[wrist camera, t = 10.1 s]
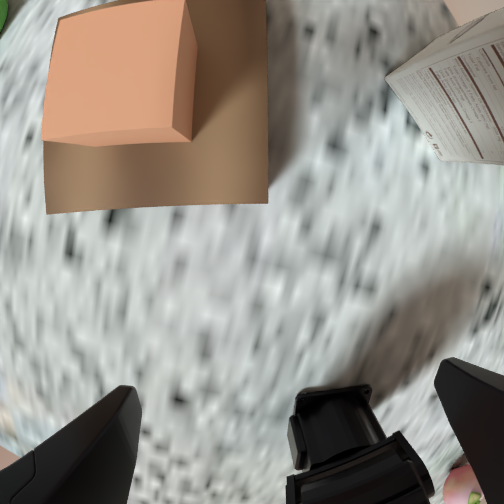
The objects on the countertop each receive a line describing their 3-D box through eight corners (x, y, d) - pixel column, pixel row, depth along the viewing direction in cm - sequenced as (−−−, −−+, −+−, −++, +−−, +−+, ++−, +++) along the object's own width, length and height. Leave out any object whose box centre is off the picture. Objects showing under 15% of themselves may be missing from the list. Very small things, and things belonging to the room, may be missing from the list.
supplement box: (434, 37, 15) (551, -13, 3) (484, 115, 17) (608, 112, 5) (378, 77, 16) (521, 12, 4) (438, 165, 18) (589, 183, 6)
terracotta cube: (197, 47, 12) (185, -3, 7) (191, 141, 13) (171, 127, 9) (103, 56, 12) (60, 20, 7) (95, 146, 13) (41, 140, 8)
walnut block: (259, 18, 15) (265, -12, 11) (260, 196, 18) (268, 203, 15) (84, 38, 14) (58, 17, 11) (78, 205, 18) (46, 214, 14)
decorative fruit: (478, 457, 31) (502, 492, 21) (440, 486, 32) (461, 523, 23) (470, 444, 29) (500, 485, 19) (427, 477, 30) (452, 522, 20)
